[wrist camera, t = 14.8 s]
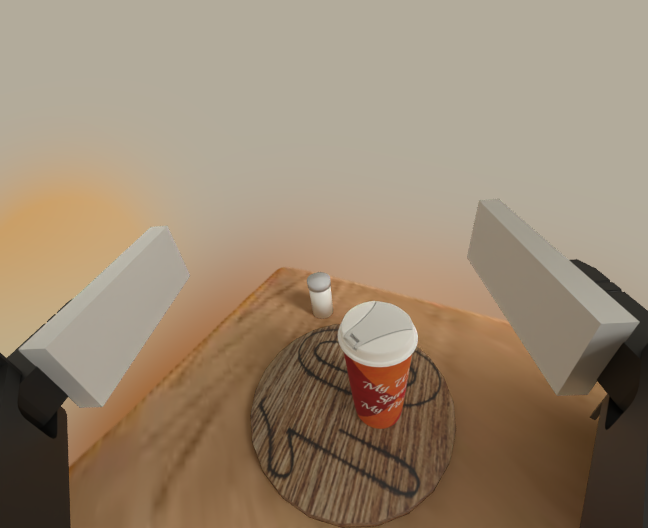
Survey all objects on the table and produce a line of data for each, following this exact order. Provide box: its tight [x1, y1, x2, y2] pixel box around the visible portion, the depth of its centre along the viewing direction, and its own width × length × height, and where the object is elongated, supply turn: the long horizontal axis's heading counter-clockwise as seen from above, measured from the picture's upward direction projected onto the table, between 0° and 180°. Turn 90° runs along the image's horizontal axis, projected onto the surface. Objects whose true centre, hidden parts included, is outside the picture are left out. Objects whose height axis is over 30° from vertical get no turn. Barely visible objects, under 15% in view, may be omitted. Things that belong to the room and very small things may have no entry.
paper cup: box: [338, 301, 418, 429], centre depth 32 cm, size 8×8×14 cm
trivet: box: [251, 324, 456, 528], centre depth 38 cm, size 25×25×2 cm
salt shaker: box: [307, 272, 333, 319], centre depth 50 cm, size 4×4×7 cm
